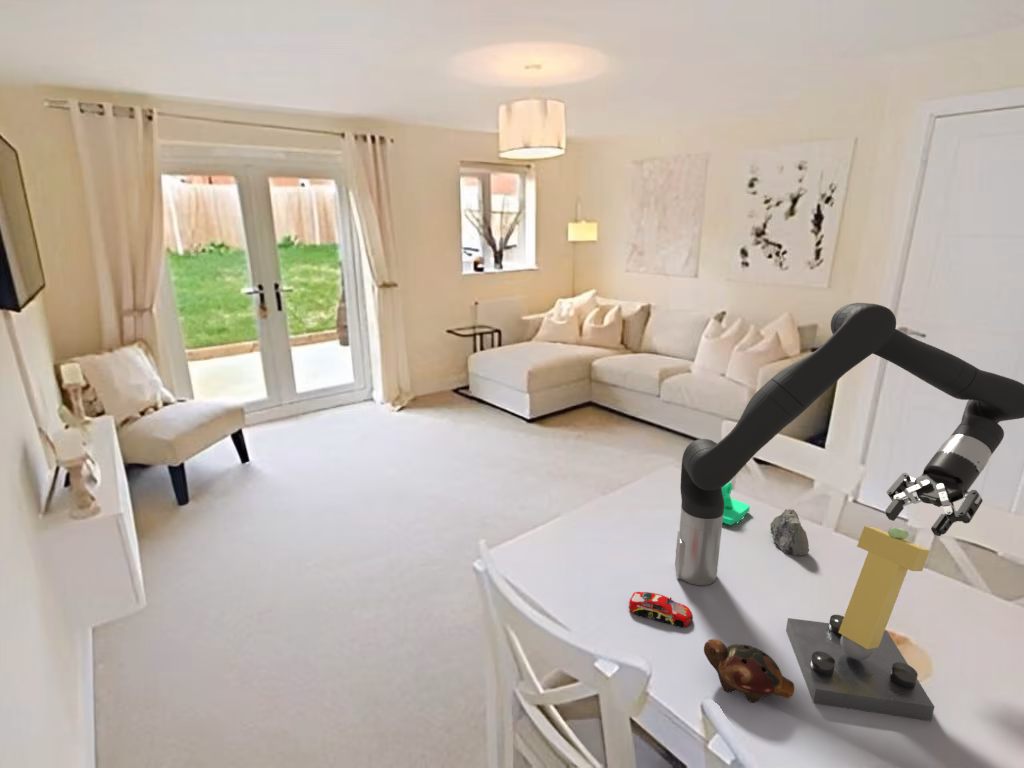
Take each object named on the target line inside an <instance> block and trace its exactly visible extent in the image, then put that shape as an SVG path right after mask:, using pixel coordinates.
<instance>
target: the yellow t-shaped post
mask: <svg viewBox="0 0 1024 768" xmlns="http://www.w3.org/2000/svg"><path fill="white" fill-rule="evenodd" d="M908 537H909V531H908V530H907V529H904V528H900V527H890V528H889V529H887V532H886V531H885V530H881V529H879V528H876V527H871V526H866V525H865V526H864V527H863V529H862V532H861V534H860V537H859V540H858V542H857V545H856V547H857V548H860V549H862V550H864V551H867V555H866V557H865V559H864V562H863V565H862V568H861V571H860V573H859V575H858V579H857V581H856V584H855V587H854V588H853V589H854V590H853V592H852V595H851V597H850V600H849V602H848V605H847V607H846V610H845V613H844V618H843V621H842V624H841V626H840V629H839V632H838V633H840V634H842V636H841V640H840V643H841V647H842V649H843V651H844V652H845V653H846V654H847V655H848V656H849V657H851V658H853V659H855V660H865V659H867V658H869V657H870V655H871V654H872V651H873V648H877V647H879V644H880V642H881V639H882V636H883V634H884V631H885V630H886V628H887V626H888V623H889V620H890V617H891V615H892V612H893V609H894V607H895V604H896V602H897V598H898V597H899V595H900V591H901V589H902V586H903V584H904V581H905V578H906V576H907V574H908V573H907V572H908V570H909V571H910V572H911V571H912V572H923V571H924V567H925V565H926V562H927V560H928V557H929V554H930V552H931V550H930V549H929V548H928V549H927V548H925V547H922V546H921V545H918V544H916V543H914V542H911V541H908V540H907V538H908Z"/></svg>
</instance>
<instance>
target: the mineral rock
mask: <svg viewBox="0 0 1024 768" xmlns="http://www.w3.org/2000/svg"><path fill="white" fill-rule="evenodd" d="M770 533H771V534H772V536H771V538H772V539H773V541H774V543H776V544H777V546H778V547H779V548H780V549H781V552H782V551H783V552H784V553H785V554H788V555H789V554H792V555H794V556H799V557H800V556H804V555H808V554H809V552H810V548H809V547H810V546H809V545H810V544H809V539H808V535H807V532H806V530H805V529H804V527H803V526H802V523H801V520H800V518H799V515H798V513H797V511H795V509H791V508H790V509H789V508H788V509H787V508H786V509H784V511H783V512H782V513H781V514H780V515H778V516H775V518H773V520H772V521H771V523H770Z"/></svg>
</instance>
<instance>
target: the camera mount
mask: <svg viewBox="0 0 1024 768" xmlns="http://www.w3.org/2000/svg"><path fill="white" fill-rule="evenodd" d="M721 488H722V494H723V498H724V513H723V522H722V524H726V525H729V526H730V525H733V524H736V523H737V522H738V521H739V520H741V519H742V518H743V517H744V518H745V517H746V516H745V515H746V514H748V513H749V512H750V508H751V506H750V504H748V503H745V502H743V501H740V500H737V499H734V498H732V497H731V493H732V490H733V483H732V482H731V481H729V482H728V483H727V484H726V485H725V486H723V487H721ZM744 518H743V519H744ZM743 519H742V520H743ZM742 520H741V521H742ZM735 522H736V523H735ZM739 522H740V521H739ZM739 522H738V523H739ZM738 523H737V524H738Z"/></svg>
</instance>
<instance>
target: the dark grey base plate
mask: <svg viewBox="0 0 1024 768" xmlns="http://www.w3.org/2000/svg"><path fill="white" fill-rule="evenodd" d="M844 616H845V615H844ZM844 616H843V615H841V614H831V616H830V618H829V622H823V621H822V622H821V621H814V620H806V619H797V618H790V617H787V621H786V626H785V627H786V628H785V632H786V634H787V636H788V640H789V642H790V645H791V647H792V650H793V653H794V656H795V658H796V661H797V663H798V666H799V669H800V671H801V673H802V676H803V679H804V683H805V684H806V685H805V686H806V687H807V689H808V693H809V695H810V698H811V700H812V703H813V704H818V705H824V706H833V707H839V708H844V707H845V708H844V709H850V708H852V709H851V710H856V709H859V710H858V711H864V712H871V713H877V714H882V713H883V714H884V715H889V714H890V716H894V717H895V716H896V717H903V718H909V719H916V720H922V721H929V722H931V721H932V718H933V714H934V710H935V705H934V704H933V702H932V701H931V699H930V698H929V696H928V694H927V692H926V691H925V688H923V686H922V684H921V683H920V681H919V680H918V674H919V673H918V672H917V670H916V669H915V668H913V667H912V666H910V665H909V663H907V660H906V659H905V657H904V655H903V654H902V652H901V651H900V649H899V647H898V646H897V645H896V643H895V641H894V640H893V638H892V637H891V634H890V633H889V632H888V630H886V629H885V631H884V634H883V636H882V639H881V642H880V644H879V647H877V648H873V651H872V654H871V655H870V657H869V658H867V659H865V660H855V659H853V658H851V657H849V656H848V655H847V654H846V653H845V652H844V651H843V649H842V647H841V643H840V640H841V636H842V634H840V633H838V632H839V629H840V626H841V624H842V621H843V618H844Z"/></svg>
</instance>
